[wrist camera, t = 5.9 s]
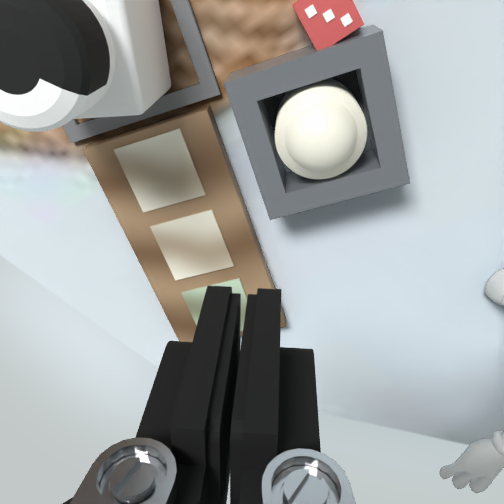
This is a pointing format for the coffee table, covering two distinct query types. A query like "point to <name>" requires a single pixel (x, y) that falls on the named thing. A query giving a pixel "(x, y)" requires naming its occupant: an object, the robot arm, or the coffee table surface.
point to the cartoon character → (484, 450)
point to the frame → (169, 101)
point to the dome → (320, 129)
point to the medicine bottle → (79, 60)
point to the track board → (182, 213)
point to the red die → (327, 20)
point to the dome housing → (304, 73)
